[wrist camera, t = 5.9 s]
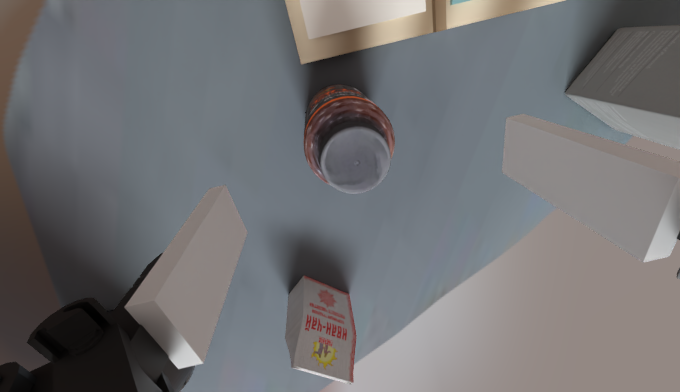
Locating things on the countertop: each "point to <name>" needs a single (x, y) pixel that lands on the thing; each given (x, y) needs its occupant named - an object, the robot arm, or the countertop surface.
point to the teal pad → (457, 1)
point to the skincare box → (635, 83)
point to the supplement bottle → (347, 139)
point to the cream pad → (353, 14)
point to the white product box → (321, 330)
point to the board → (400, 25)
